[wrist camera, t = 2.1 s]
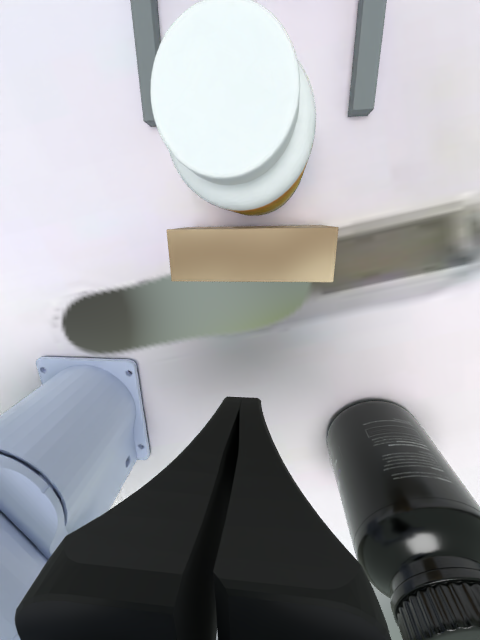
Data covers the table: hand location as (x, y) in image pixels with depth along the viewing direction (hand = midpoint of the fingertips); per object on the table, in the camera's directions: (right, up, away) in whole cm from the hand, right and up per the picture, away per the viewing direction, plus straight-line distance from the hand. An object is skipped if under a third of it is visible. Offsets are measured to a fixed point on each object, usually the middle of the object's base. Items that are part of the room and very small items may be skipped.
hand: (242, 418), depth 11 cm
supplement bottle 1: (+1, +13, +6) cm, 14 cm away
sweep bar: (+1, +9, +7) cm, 11 cm away
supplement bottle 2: (+10, -5, +11) cm, 16 cm away
